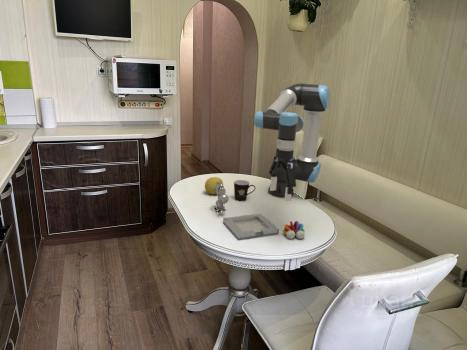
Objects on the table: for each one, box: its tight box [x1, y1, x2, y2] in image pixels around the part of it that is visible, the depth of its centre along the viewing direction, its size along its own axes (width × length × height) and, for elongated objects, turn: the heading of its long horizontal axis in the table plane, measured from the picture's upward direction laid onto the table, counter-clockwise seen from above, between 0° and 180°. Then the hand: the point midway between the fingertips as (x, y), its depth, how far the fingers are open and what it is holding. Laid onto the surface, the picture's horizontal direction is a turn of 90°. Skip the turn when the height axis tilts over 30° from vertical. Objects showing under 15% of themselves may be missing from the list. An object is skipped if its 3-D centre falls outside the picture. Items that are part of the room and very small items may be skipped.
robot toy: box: [215, 182, 229, 213], centre depth 177 cm, size 15×6×15 cm, turn 13°
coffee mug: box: [233, 179, 256, 202], centre depth 196 cm, size 12×9×10 cm
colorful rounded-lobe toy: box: [282, 220, 306, 240], centre depth 158 cm, size 8×10×7 cm
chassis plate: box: [222, 213, 280, 241], centre depth 162 cm, size 20×18×2 cm
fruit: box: [204, 176, 224, 196], centre depth 202 cm, size 10×11×10 cm
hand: (279, 195), depth 157 cm, fingers open, 13 cm apart
